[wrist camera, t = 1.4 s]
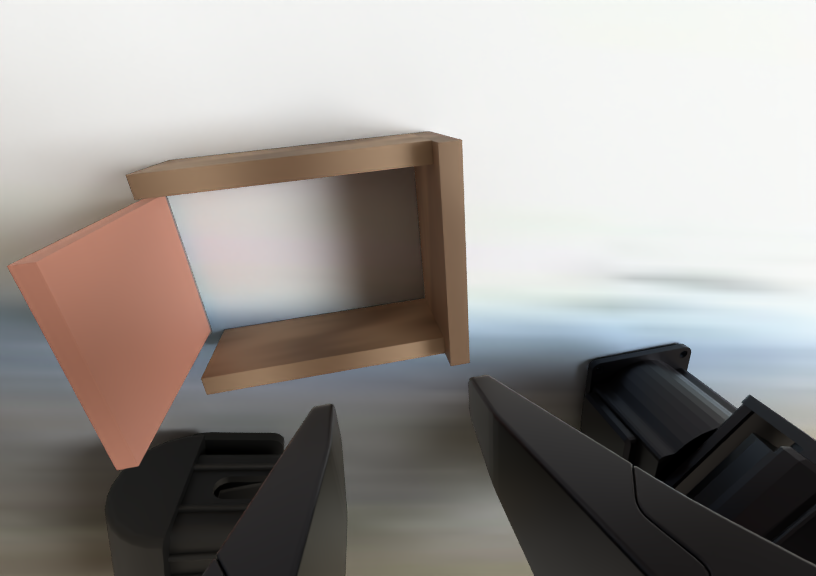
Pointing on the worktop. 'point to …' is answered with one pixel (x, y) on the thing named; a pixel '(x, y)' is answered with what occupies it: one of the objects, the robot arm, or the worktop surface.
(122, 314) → the salmon pink flat panel
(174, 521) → the end cap
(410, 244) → the worktop surface
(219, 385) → the brown wooden open frame
